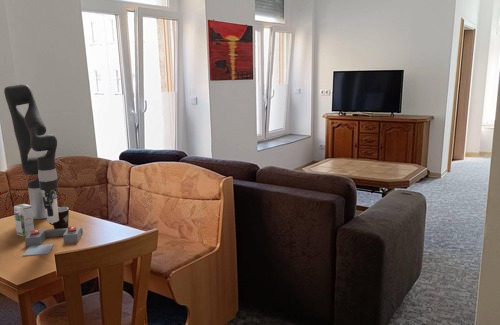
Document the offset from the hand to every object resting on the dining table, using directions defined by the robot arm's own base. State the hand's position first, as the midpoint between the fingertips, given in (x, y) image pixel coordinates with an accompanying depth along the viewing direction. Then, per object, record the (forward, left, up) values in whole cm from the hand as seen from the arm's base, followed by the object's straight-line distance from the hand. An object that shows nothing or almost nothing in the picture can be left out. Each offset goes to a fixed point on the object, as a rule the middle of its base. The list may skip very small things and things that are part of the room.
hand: (52, 213), depth 181 cm
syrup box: (-12, -16, -13) cm, 24 cm away
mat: (+10, -4, -13) cm, 17 cm away
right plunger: (0, +8, -11) cm, 13 cm away
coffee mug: (-15, -2, -13) cm, 20 cm away
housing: (-2, 0, -13) cm, 13 cm away
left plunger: (0, -8, -11) cm, 14 cm away
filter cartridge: (0, 0, -3) cm, 3 cm away
